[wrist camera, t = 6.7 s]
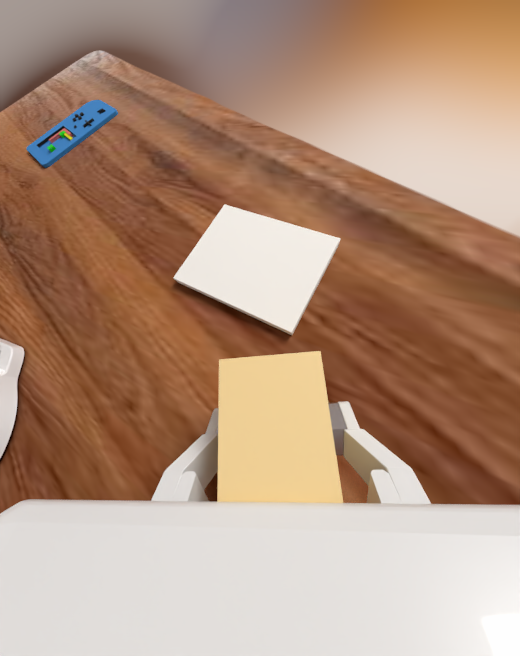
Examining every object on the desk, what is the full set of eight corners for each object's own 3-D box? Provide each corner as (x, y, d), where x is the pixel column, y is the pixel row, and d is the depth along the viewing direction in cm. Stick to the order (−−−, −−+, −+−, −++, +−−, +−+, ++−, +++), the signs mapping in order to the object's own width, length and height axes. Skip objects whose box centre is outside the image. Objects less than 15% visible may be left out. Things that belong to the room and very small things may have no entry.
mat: (177, 282, 21) (173, 278, 21) (226, 210, 23) (224, 204, 23) (292, 335, 18) (291, 332, 17) (338, 244, 20) (340, 238, 19)
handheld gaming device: (115, 107, 34) (40, 164, 32) (120, 115, 35) (48, 171, 33) (93, 94, 37) (22, 146, 35) (98, 102, 38) (30, 153, 36)
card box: (261, 464, 15) (216, 551, 6) (257, 378, 17) (219, 359, 8) (318, 464, 14) (351, 557, 6) (307, 375, 16) (320, 350, 8)
